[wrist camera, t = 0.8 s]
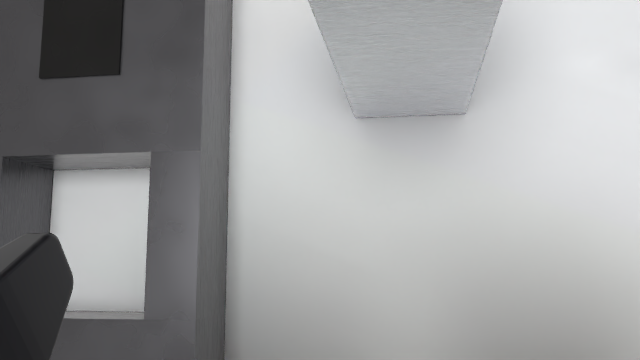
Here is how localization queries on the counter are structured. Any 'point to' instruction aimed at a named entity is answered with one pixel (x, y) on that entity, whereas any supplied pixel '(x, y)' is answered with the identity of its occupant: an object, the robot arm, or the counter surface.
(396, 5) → the square bar
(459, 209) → the counter surface
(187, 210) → the rack rail
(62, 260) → the robot arm
